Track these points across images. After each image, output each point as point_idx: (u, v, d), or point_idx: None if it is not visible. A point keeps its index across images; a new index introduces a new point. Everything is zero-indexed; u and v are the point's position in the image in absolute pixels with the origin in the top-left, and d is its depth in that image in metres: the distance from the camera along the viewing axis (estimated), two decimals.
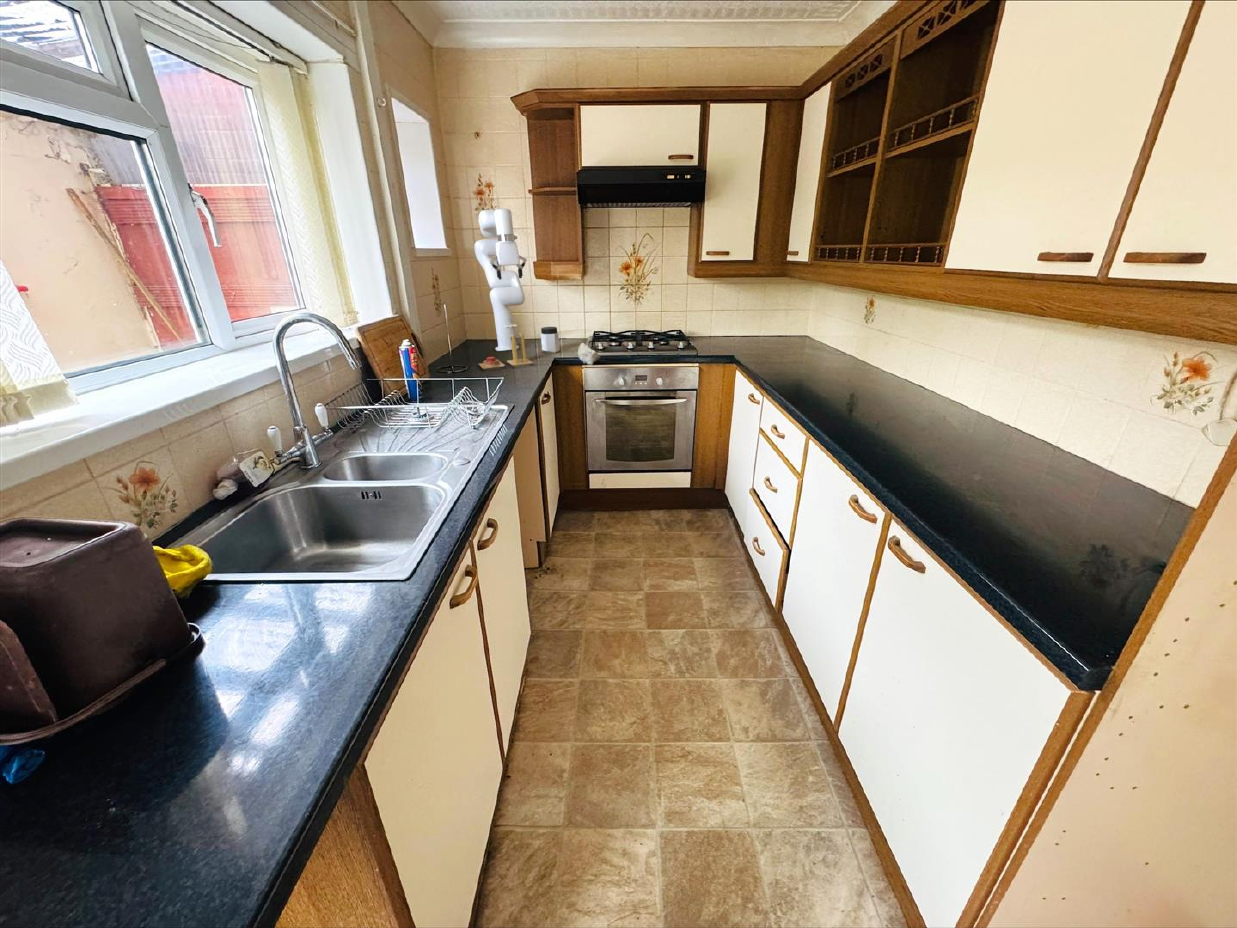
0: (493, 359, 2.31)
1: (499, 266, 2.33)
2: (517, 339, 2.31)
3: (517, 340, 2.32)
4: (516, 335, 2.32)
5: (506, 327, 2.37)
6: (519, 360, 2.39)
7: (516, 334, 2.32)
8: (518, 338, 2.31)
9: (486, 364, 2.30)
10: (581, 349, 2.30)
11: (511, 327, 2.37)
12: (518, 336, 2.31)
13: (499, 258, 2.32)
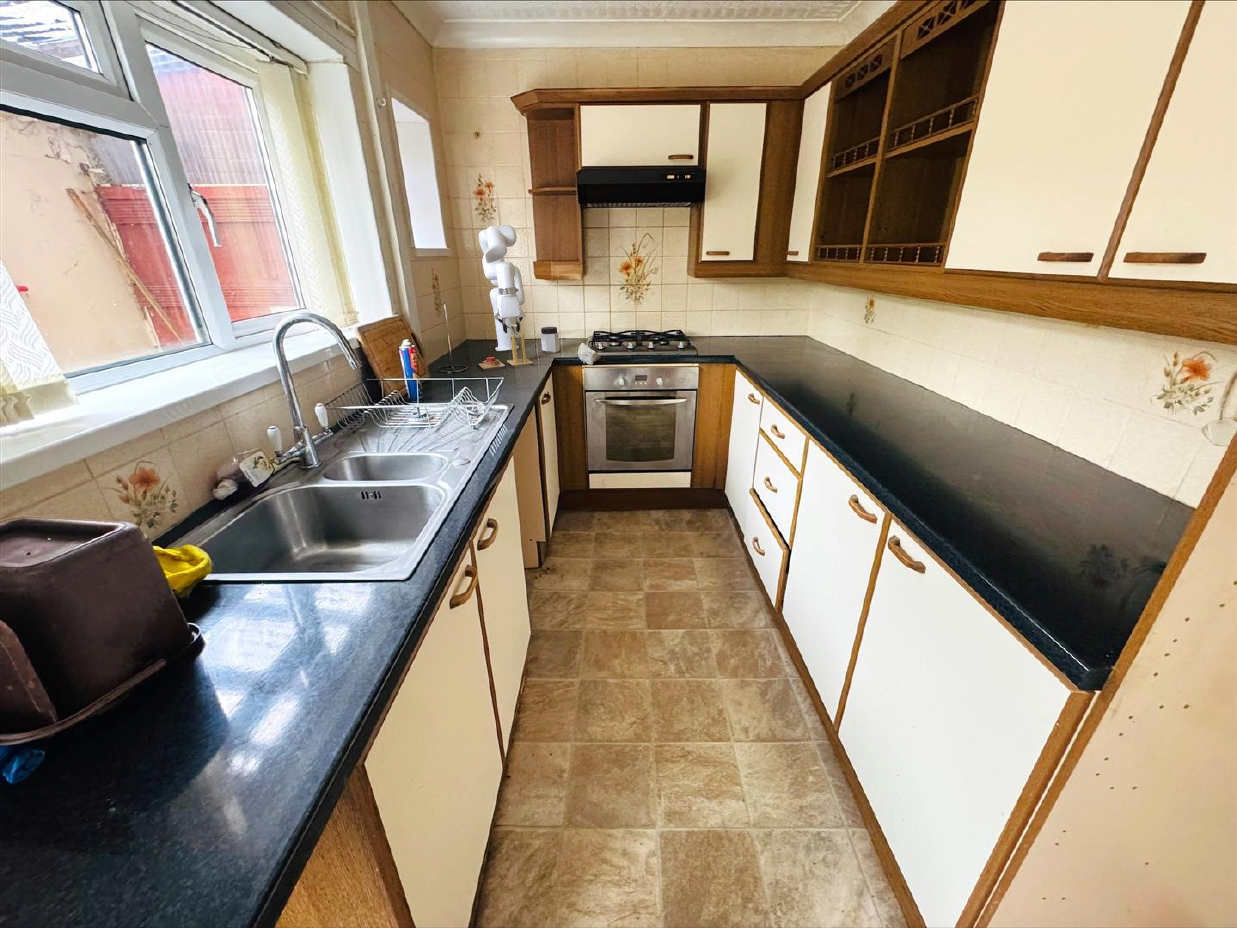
0: (493, 359, 2.31)
1: (505, 320, 2.35)
2: (517, 339, 2.31)
3: (517, 340, 2.32)
4: (516, 335, 2.32)
5: None
6: (519, 360, 2.39)
7: (516, 334, 2.32)
8: (518, 338, 2.31)
9: (486, 364, 2.30)
10: (581, 349, 2.30)
11: (511, 327, 2.37)
12: (518, 336, 2.31)
13: (501, 311, 2.32)
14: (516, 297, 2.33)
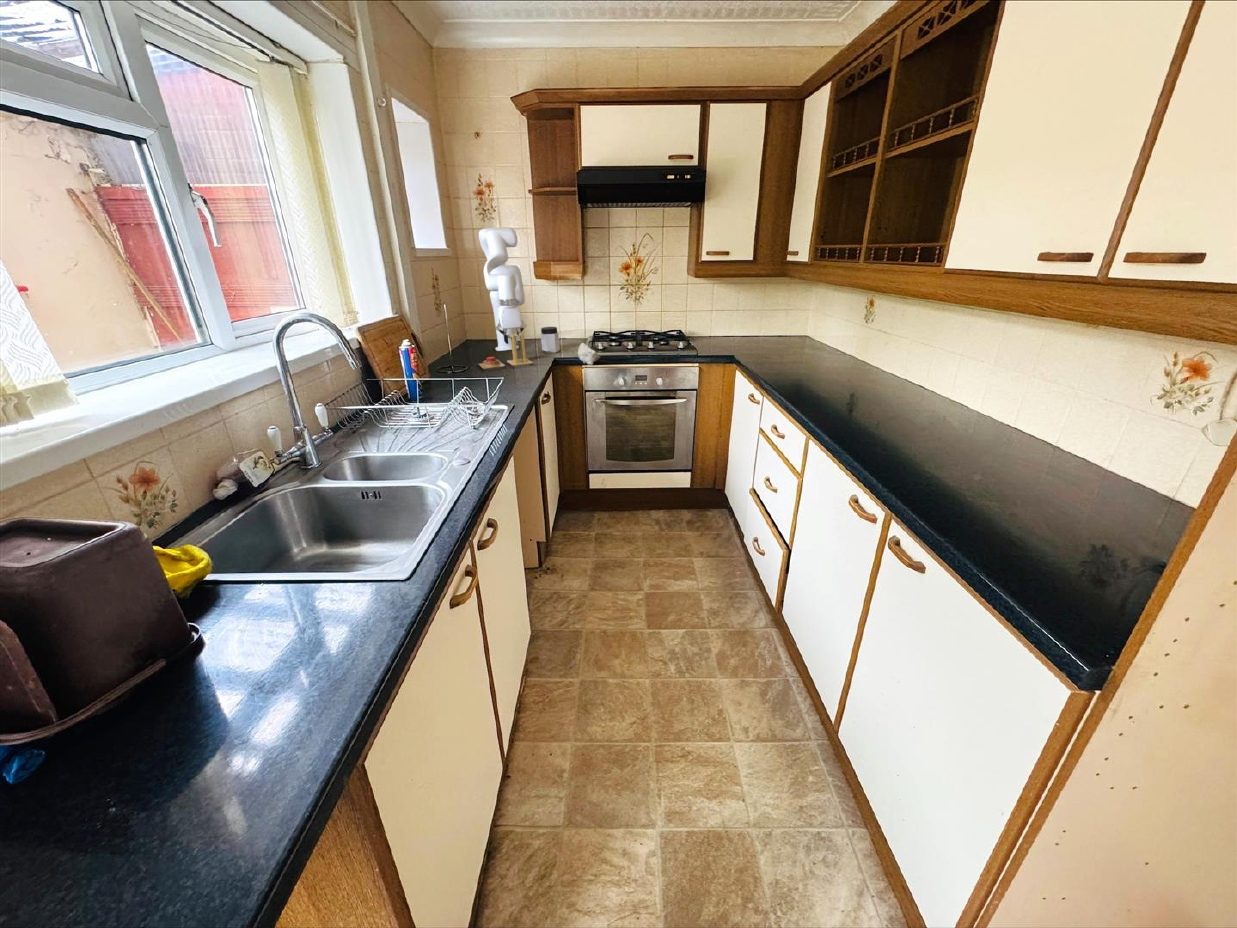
0: (493, 359, 2.31)
1: (506, 331, 2.38)
2: (517, 338, 2.31)
3: (517, 339, 2.31)
4: (516, 335, 2.32)
5: None
6: (519, 360, 2.39)
7: (516, 335, 2.33)
8: (517, 336, 2.31)
9: (486, 364, 2.30)
10: (581, 349, 2.30)
11: None
12: (518, 335, 2.32)
13: (502, 322, 2.35)
14: (517, 308, 2.35)
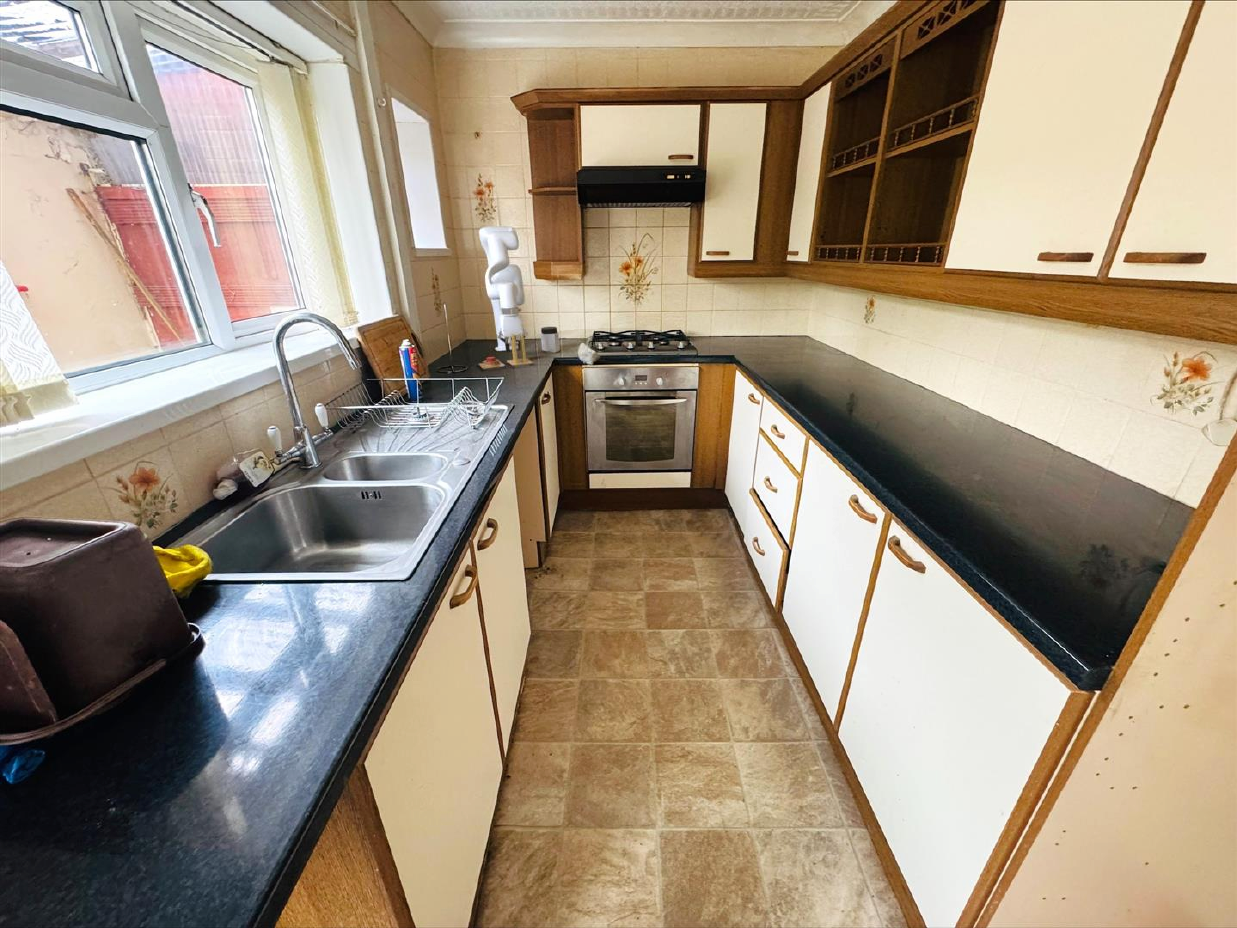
0: (493, 359, 2.31)
1: (507, 340, 2.38)
2: (517, 336, 2.31)
3: (517, 338, 2.31)
4: None
5: (508, 343, 2.40)
6: (519, 360, 2.39)
7: None
8: (517, 335, 2.31)
9: (486, 364, 2.30)
10: (581, 349, 2.30)
11: None
12: None
13: (503, 330, 2.35)
14: (518, 317, 2.36)
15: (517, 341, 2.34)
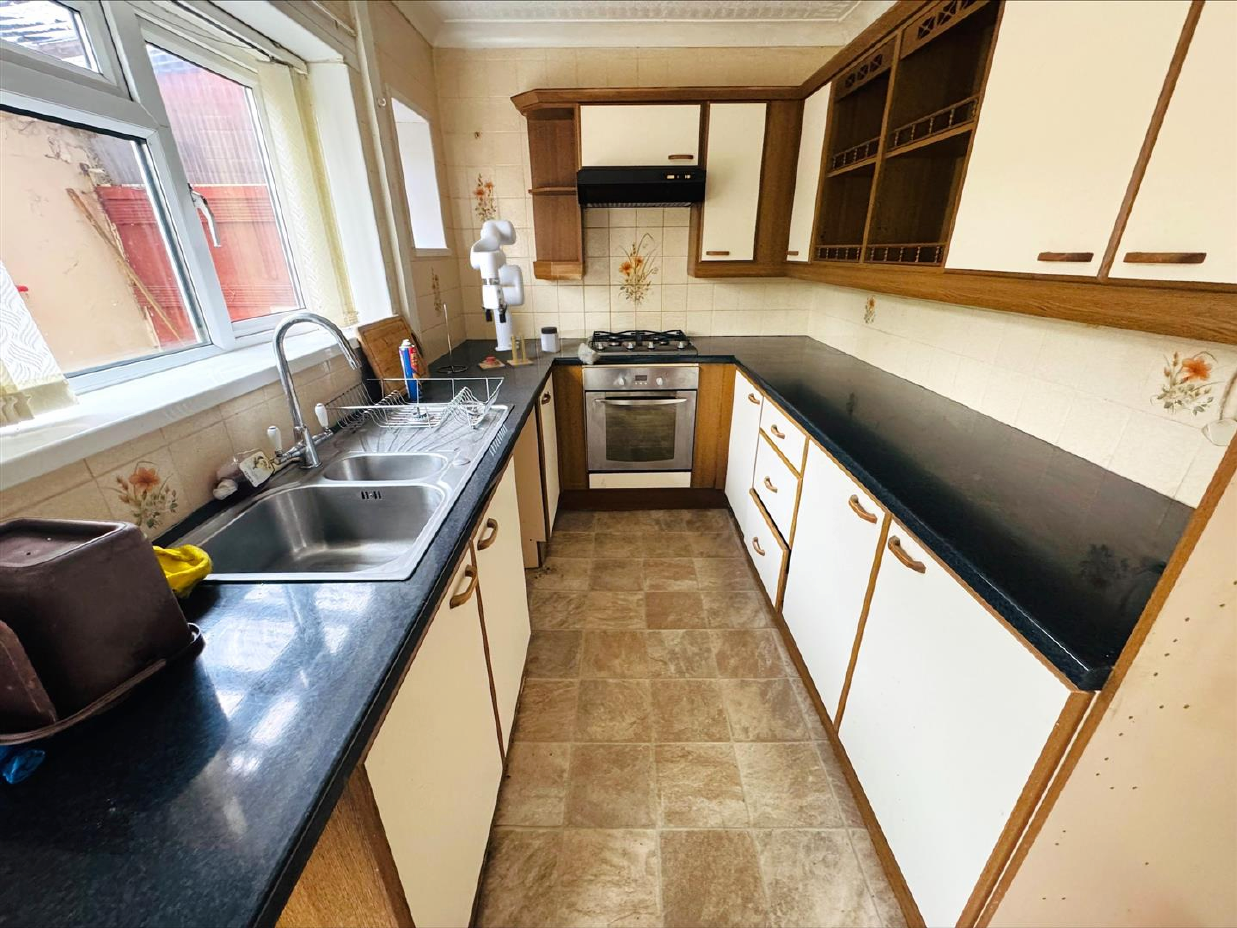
0: (493, 359, 2.31)
1: (485, 309, 2.30)
2: (517, 336, 2.31)
3: (517, 338, 2.31)
4: None
5: (508, 344, 2.40)
6: (519, 360, 2.39)
7: None
8: (517, 335, 2.31)
9: (486, 364, 2.30)
10: (581, 349, 2.30)
11: None
12: None
13: (483, 301, 2.28)
14: (493, 289, 2.21)
15: (517, 341, 2.34)
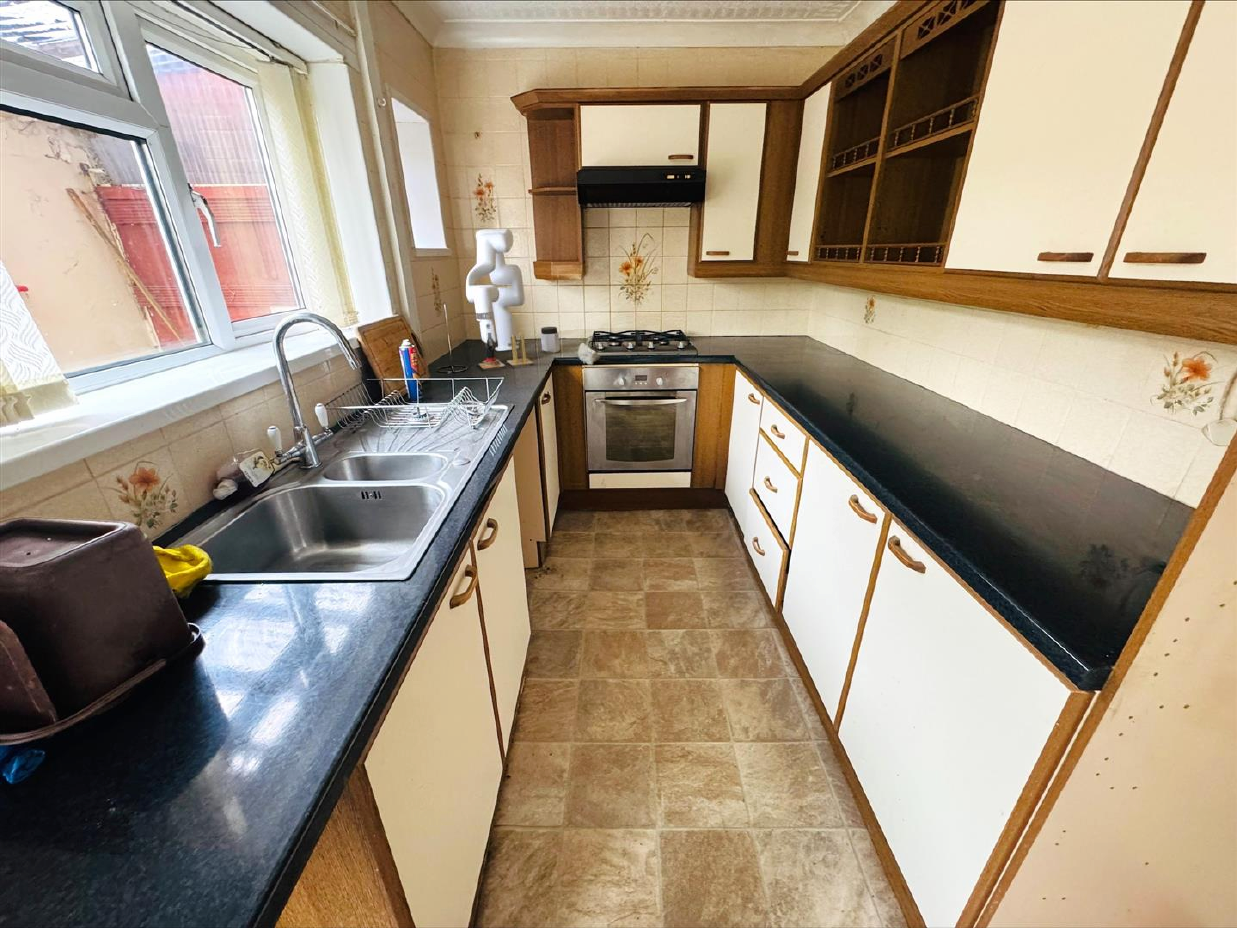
0: (493, 359, 2.31)
1: (485, 345, 2.29)
2: (517, 336, 2.31)
3: (517, 338, 2.31)
4: None
5: (508, 344, 2.40)
6: (519, 360, 2.39)
7: None
8: (517, 335, 2.31)
9: (486, 364, 2.30)
10: (581, 349, 2.30)
11: None
12: None
13: (481, 334, 2.30)
14: (482, 323, 2.21)
15: (517, 341, 2.34)
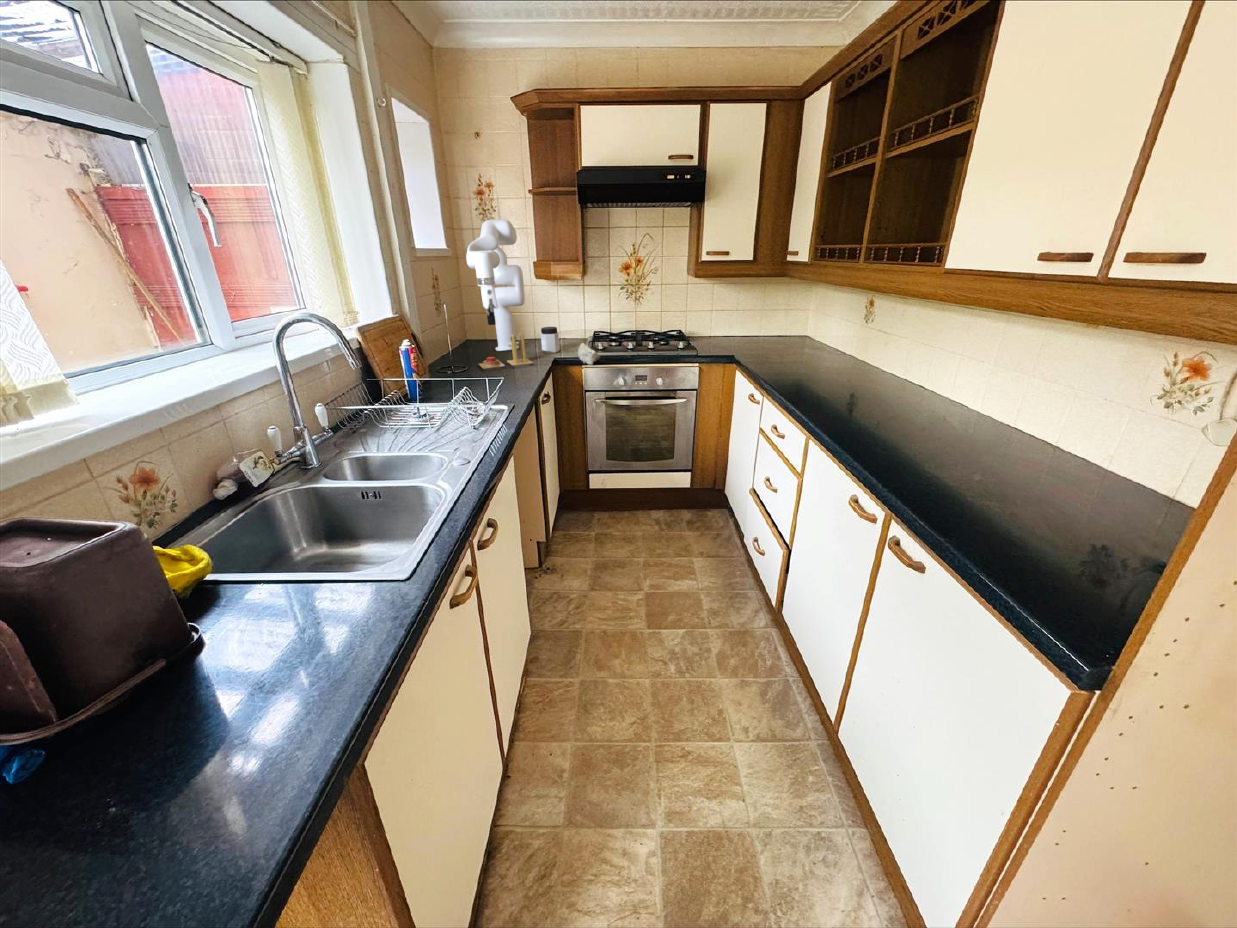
0: (493, 359, 2.31)
1: (487, 312, 2.29)
2: (517, 336, 2.31)
3: (517, 338, 2.31)
4: None
5: (508, 344, 2.40)
6: (519, 360, 2.39)
7: None
8: (517, 335, 2.31)
9: (486, 364, 2.30)
10: (581, 349, 2.30)
11: None
12: None
13: (482, 300, 2.30)
14: (483, 289, 2.21)
15: (517, 341, 2.34)
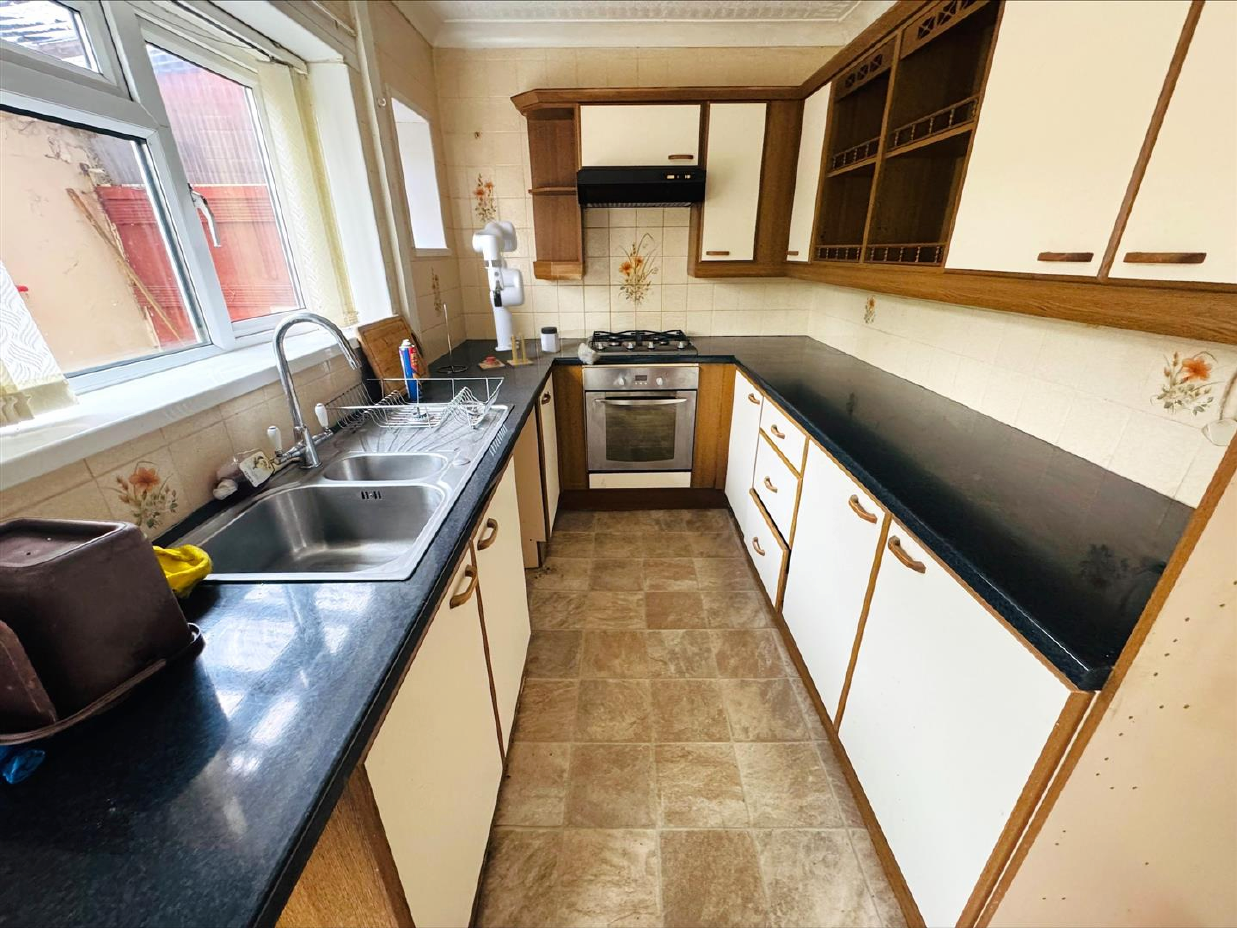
0: (493, 359, 2.31)
1: (494, 294, 2.34)
2: (517, 336, 2.31)
3: (517, 338, 2.31)
4: None
5: (508, 344, 2.40)
6: (519, 360, 2.39)
7: None
8: (517, 335, 2.31)
9: (486, 364, 2.30)
10: (581, 349, 2.30)
11: None
12: None
13: (489, 283, 2.36)
14: (491, 271, 2.27)
15: (517, 341, 2.34)
